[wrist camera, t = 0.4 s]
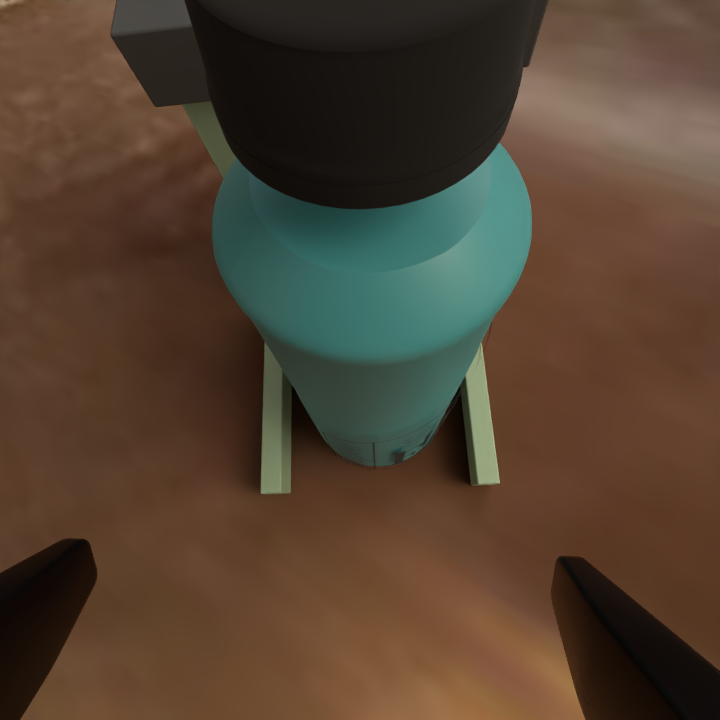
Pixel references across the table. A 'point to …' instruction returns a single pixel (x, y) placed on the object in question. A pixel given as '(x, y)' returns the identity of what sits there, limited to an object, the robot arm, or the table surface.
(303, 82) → the beverage bottle
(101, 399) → the table surface
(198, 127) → the drink station
